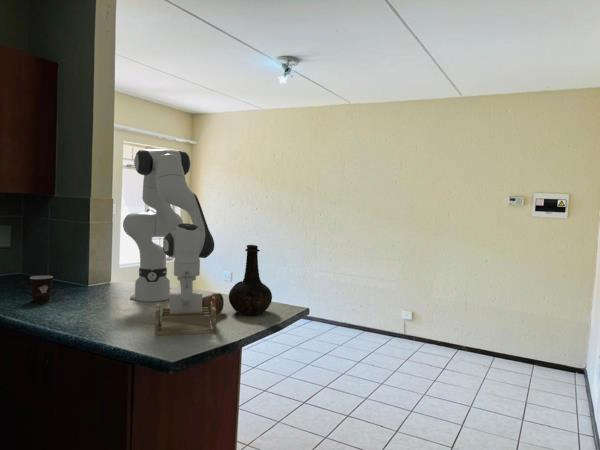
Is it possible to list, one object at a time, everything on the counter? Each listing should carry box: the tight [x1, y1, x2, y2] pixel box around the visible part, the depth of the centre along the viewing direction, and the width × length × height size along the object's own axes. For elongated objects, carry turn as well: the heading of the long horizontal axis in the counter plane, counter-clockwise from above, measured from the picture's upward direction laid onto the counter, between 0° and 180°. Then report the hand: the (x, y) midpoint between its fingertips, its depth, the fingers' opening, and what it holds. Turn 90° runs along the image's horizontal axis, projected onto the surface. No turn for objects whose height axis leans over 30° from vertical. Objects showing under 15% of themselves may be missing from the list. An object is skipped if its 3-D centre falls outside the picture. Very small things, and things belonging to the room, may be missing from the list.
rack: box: [154, 296, 217, 336], centre depth 158 cm, size 13×20×11 cm, turn 105°
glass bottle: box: [228, 244, 273, 316], centre depth 184 cm, size 18×18×28 cm
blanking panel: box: [169, 292, 203, 313], centre depth 158 cm, size 2×11×10 cm, turn 105°
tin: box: [202, 292, 225, 316], centre depth 177 cm, size 15×3×8 cm, turn 160°
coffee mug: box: [19, 275, 54, 303], centre depth 192 cm, size 12×9×10 cm
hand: (186, 308), depth 158 cm, fingers closed on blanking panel, 2 cm apart
